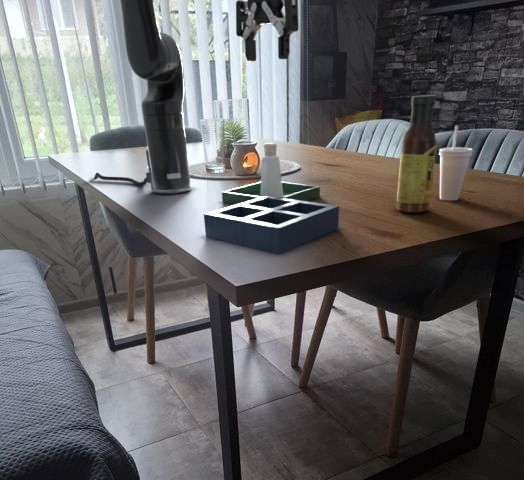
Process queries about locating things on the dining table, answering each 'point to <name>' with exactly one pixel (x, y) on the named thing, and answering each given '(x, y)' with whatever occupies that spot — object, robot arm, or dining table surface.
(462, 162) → the smoothie
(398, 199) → the sauce bottle
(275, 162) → the pepper shaker
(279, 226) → the rack
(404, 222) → the dining table surface
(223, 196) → the tray
